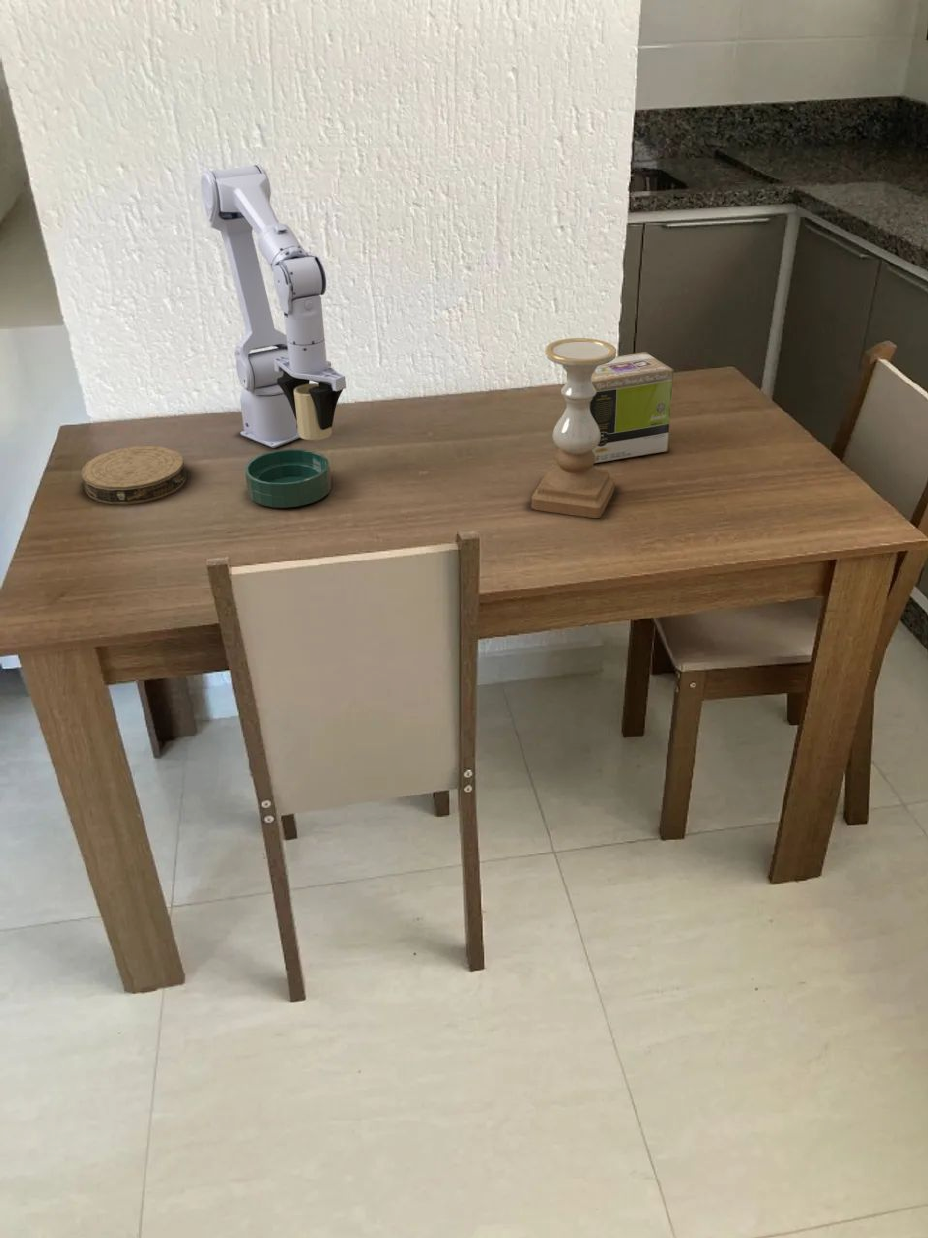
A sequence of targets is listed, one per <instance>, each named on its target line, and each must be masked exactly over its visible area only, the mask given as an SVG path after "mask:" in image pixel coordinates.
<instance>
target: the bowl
mask: <svg viewBox="0 0 928 1238" xmlns="http://www.w3.org/2000/svg"><path fill="white" fill-rule="evenodd" d="M330 469H331V468H330V462H329V459H328V458H327V457H326V456H324V455H323V454H322V453H319V452H316V451H313V450H310V449H303V448H301V449H300V448H287V449H279V450H277V449H276V450H274V451H269V452H265V453H262V454H260V455H257V456H255V457H254V458H252V459H251V460H250V461H248V463H247V464H246V465H245V467H244V471H245V481H246V486H247V493H248V494H247V495H248V497H249V498H250V500H252V501H253V502H254V503H257V504H259V505H261V506H265V507H270V508H282V509H283V508H284V509H285V508H295V507H301V506H305V505H310V504H313V503H316V502H318V501H320V500H322V499H323V498H324V497H326V496H327V495H328V494H329V493H330V491H331V489H332V480H331V470H330Z"/></svg>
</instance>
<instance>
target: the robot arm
mask: <svg viewBox="0 0 928 1238" xmlns="http://www.w3.org/2000/svg"><path fill="white" fill-rule="evenodd" d="M200 193H201V198H202V202H203V207H204V210H205V214H206V218H207V221H208V223H209V226H210V228H212V229H214V230H216V231H219V232H220V234H221V238H222V241H223V243H224V247H225V251H226V254H227V260H228V263H229V267H230V271H231V275H232V280H233V283H234V288H235V291H236V295H237V300H238V305H239V307H240V312H241V317H242V320H243V321H242V322H243V324H244V328H245V334H244V335H243V337H242V338H241V339H240V340H239V341H238V342H237V344H236V345H235V347H234V357H235V368H236V369H235V370H236V374H237V378H238V381H239V384H240V386H241V387H242V388H243V389H242V390H241V393H240V399H239V403H240V411H241V417H242V426H243V430H242V431H240V436H243V437H245V438H247V439H250V440H252V441H255V442H258V443H259V444H262V445H265V446H267V447H270V448H272V449H275V448H278V447H280V446H283V445H286V444H288V443H291V442H293V441H296V440H299V439H302V438H301V437H300V436H299V433H298V427H297V417H296V408H295V399H294V388H296V387H297V386H300V385H303V384H309V383H311V382H312V383H318V385H319V386H316V387H313V388H311V389H308V392H309V394H310V395H311V397H312V399H313V402H314V405H315V408H316V412H317V418H318V423H319V427H320V429H322V430H325V429H328V428H330V427H333V425H334V419H335V413H336V409H337V404H338V402H339V399H340V397H341V395H342V392H343V391H344V390H345V389H346V388H347V381H346V375H343V374H341V373H339V372H338V371H336V370H335V369H334V368H332V362H331V361H329V360H327V350H326V338H325V330H324V328H325V327H324V320H323V317H324V316H323V305H322V297H321V296H323V295H325V294H326V291H327V275H326V271H325V267H324V265H323V263H322V261H321V259H320V257H319V256H318V255H317V254H313V253H312V252H311V251H309V252H307V251H305V250H306V249H304V247H303V246H302V244H301V242H300V241H299V239H298V238H297V237H296V234H295V233H294V232H293V230H292V229H291V227H290V226H289V225H287V224H285V223H282V222H280V221H279V219H278V217H277V215H276V213H275V211H274V209H273V206H272V205H271V203H270V202H271V197H272V196H271V194H272V191H271V183H270V179H269V176H268V173H267V172H266V170H265V168H263V167H262V165H260V164H254V165H253V166H252V165H251V166H250V165H249V166H242V167H233V168H223V169H215V170H210V169H206V170H204V171H203V173H202V174H201V178H200ZM253 230H254V231H255V233H256V234H257V235H258V237H257V248H258V250H259V251H260V253H261V254H262V256H263V258H264V260H265V261H266V263H267V264H268V266H269V268H270V269H271V271H272V273H273V283H274V287H275V291H276V293H277V297H278V302H279V308H280V310H281V311H282V312H283V317H284V326H285V333H284V332H281V331H280V330H278V329H277V328H275V324H274V319H273V315H272V311H271V306H270V302H269V299H268V294H267V291H266V286H265V283H264V278H263V274H262V269H261V265H260V262H259V257H258V252H257V249H256V245H255V240H254V235H253ZM271 347H274V348H271ZM266 348H271V349H266ZM258 349H259V350H260V349H264V350H260V351H255V350H258ZM265 349H266V350H265ZM252 351H255V352H252Z"/></svg>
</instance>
